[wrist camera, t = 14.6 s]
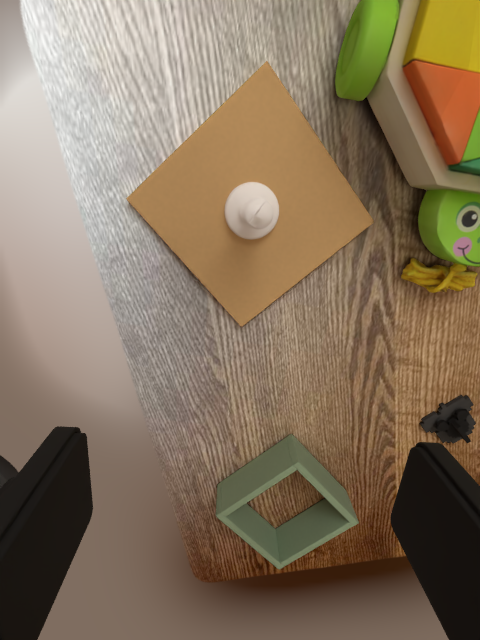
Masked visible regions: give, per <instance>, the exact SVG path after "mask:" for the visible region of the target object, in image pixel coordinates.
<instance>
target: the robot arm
mask: <svg viewBox="0 0 480 640" xmlns="http://www.w3.org/2000/svg"><path fill="white" fill-rule="evenodd" d="M87 447H88V446H87V436H86V434H85V433H81V431H80V429H79V428H78V427H55V428H54V429H53V430H52V432H51V433H50V434H49V436H48V437H47V438H46V439H45V440H44V442H43V443H42V444H41V446H40V447H39V448H38V449H37V451H36V452H35V453H34V454H33V456H32V457H31V458H30V459H29V461H28V462H27V463H26V465H25V466H24V467H23V469H22V470H21V471H20V472H19V473H18V475H17V476H16V477H13V478H11V479H10V480H8V481H7V482H6V483H5V484H4V485H3V486H2V488H1V489H0V640H37V639H38V637H39V635H40V632H41V630H42V628H43V626H44V623H45V621H46V619H47V616H48V614H49V612H50V610H51V608H52V605H53V603H54V600H55V598H56V596H57V594H58V592H59V589H60V587H61V585H62V583H63V580H64V578H65V576H66V574H67V571H68V569H69V567H70V565H71V562H72V560H73V558H74V556H75V553H76V551H77V549H78V547H79V544H80V542H81V540H82V537H83V535H84V533H85V531H86V528H87V525H88V524H89V522H90V519H91V515H92V510H93V504H92V492H91V480H90V469H89V457H88V448H87ZM391 525H392V528H393V530H394V532H395V534H396V536H397V538H398V540H399V542H400V544H401V546H402V548H403V550H404V552H405V554H406V556H407V558H408V560H409V562H410V564H411V566H412V568H413V569H414V571H415V573H416V575H417V578H418V579H419V581H420V583H421V585H422V587H423V589H424V591H425V593H426V595H427V597H428V599H429V601H430V603H431V605H432V607H433V609H434V611H435V613H436V615H437V617H438V619H439V621H440V622H441V625H442V627H443V629H444V630H445V632H446V635H447V637H448V638H449V640H480V486H479V485H478V484H477V483H476V482H475V480H474V479H473V478H472V477H471V476H470V475H469V474H468V473H467V471H466V470H465V469H464V468H463V467H462V466H461V465H460V464H459V463H458V461H457V460H456V459H455V458H454V457H453V456H452V455H451V454H450V453H449V451H448V450H447V449H446V448H445V447H444V446H443V445H442V444H440V443H427V442H419V443H417V444H416V446H415V447H413V448H411V450H410V453H409V456H408V459H407V463H406V466H405V469H404V473H403V476H402V480H401V483H400V486H399V490H398V493H397V496H396V500H395V503H394V506H393V510H392V513H391Z"/></svg>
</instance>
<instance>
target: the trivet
mask: <svg viewBox="0 0 480 640" xmlns="http://www.w3.org/2000/svg"><path fill="white" fill-rule="evenodd" d="M247 182H257V183H261V184H263V185H265V186H267V187H268V188H269V189H271V191H272V192H273V193H274V194H275V196H276V198H277V201H278V204H279V217H278V220H277V223H276V225H275V226H274V228H273V229H272V230H271V231H270V232H269V233H268V234H267V235H265V236H264V237H262V238H259V239H252V240H251V239H244V238H241V237H239V236H238V235H236V234H235V233H234V232H233V231H232V230H231V229H230V228H229V226H228V224H227V222H226V219H225V203H226V200H227V198H228V196H229V194H230V193H231V192H232V191H233V190H234V189H235V188H236V187H237V186H239V185H241V184H243V183H247ZM127 200H128V202H129V203H130V204H131V205H132V206H133V207H134V208H135V209H136V210H137V212H138V213H139V214H140V215H141V216H142V217H143V218H144V219H145V220H146V222H147V223H148V224H149V225H150V226H151V227H152V228H153V229H154V230H155V232H156V233H157V234H158V235H159V236H160V237H161V238H162V239H163V240H164V242H165V243H166V244H167V245H168V246H169V247H170V248H171V249H172V250H173V252H174V253H175V254H176V255H177V256H178V257H179V258H180V259H181V260H182V262H183V263H184V264H185V265H186V266H187V267H188V268H189V269H190V270H191V272H192V273H193V274H194V275H195V276H196V277H197V278H198V279H199V280H200V282H201V283H202V284H203V285H204V286H205V287H206V288H207V289H208V290H209V292H210V293H211V294H212V295H213V296H214V297H215V298H216V299H217V300H218V302H219V303H220V304H221V305H222V306H223V307H224V308H225V309H226V310H227V312H228V313H229V314H230V315H231V316H232V317H233V318H234V319H235V320H236V322H237V323H238V324H239V325H240V326H241V327H242V326H244V325H245V324H246V323H247V322H249V321H250V320H251V319H252V318H254V317H255V316H256V315H257V314H259V313H260V312H261V311H263V310H264V309H265V308H266V307H268V306H269V305H270V304H271V303H273V302H274V301H275V300H276V299H278V298H279V297H280V296H281V295H283V294H284V293H285V292H287V291H288V290H289V289H290V288H292V287H293V286H294V285H295V284H297V283H298V282H299V281H300V280H302V279H303V278H304V277H305V276H307V275H308V274H309V273H311V272H312V271H313V270H314V269H316V268H317V267H318V266H319V265H321V264H322V263H323V262H324V261H326V260H327V259H328V258H329V257H331V256H332V255H333V254H335V253H336V252H337V251H338V250H340V249H341V248H342V247H343V246H345V245H346V244H347V243H348V242H350V241H351V240H352V239H353V238H355V237H356V236H357V235H359V234H360V233H361V232H362V231H364V230H365V229H366V228H367V227H369V226H370V225H371V224H372V223H374V221H373V219H372V218H371V216H370V215H369V213H368V212H367V210H366V209H365V207H364V206H363V204H362V203H361V201H360V200H359V198H358V197H357V195H356V194H355V192H354V191H353V189H352V188H351V186H350V185H349V183H348V182H347V180H346V179H345V177H344V176H343V174H342V173H341V171H340V170H339V168H338V167H337V165H336V164H335V162H334V161H333V159H332V158H331V156H330V155H329V153H328V152H327V150H326V149H325V147H324V146H323V144H322V143H321V141H320V140H319V138H318V137H317V135H316V134H315V132H314V131H313V129H312V128H311V126H310V125H309V123H308V122H307V120H306V119H305V117H304V116H303V114H302V113H301V111H300V110H299V108H298V107H297V105H296V104H295V102H294V101H293V99H292V98H291V96H290V95H289V93H288V92H287V90H286V89H285V87H284V86H283V84H282V83H281V81H280V80H279V78H278V77H277V75H276V74H275V72H274V71H273V69H272V68H271V66H270V65H269V63H268V62H267V61H266V62H265V63H264V64H263V65H262V66H261V67H260V68H259V69H258V70H257V71H256V72H255V73H254V74H253V75H252V76H251V77H250V78H249V79H248V80H247V81H246V82H245V83H244V84H243V85H242V86H241V87H240V88H239V89H238V90H237V91H236V92H235V93H234V94H233V95H232V96H231V97H230V98H229V99H228V100H227V101H226V102H225V103H223V104H222V105H221V106H220V107H219V108H218V109H217V110H216V111H215V112H214V113H213V114H212V115H211V116H210V117H209V118H208V119H207V120H206V121H205V122H204V123H203V124H202V125H201V126H200V127H199V128H198V129H197V130H196V131H195V132H194V133H193V134H192V135H191V136H190V137H189V138H188V139H187V140H186V141H185V142H184V143H183V144H182V145H181V146H180V147H179V148H178V149H176V150H175V151H174V152H173V153H172V154H171V155H170V156H169V157H168V158H167V159H166V160H165V161H164V162H163V163H162V164H161V165H160V166H159V167H158V168H157V169H156V170H155V171H154V172H153V173H152V174H151V175H150V176H149V177H148V178H147V179H146V180H145V181H144V182H143V183H142V184H141V185H140V186H139V187H138V188H137V189H136V190H135V191H134V192H133V193H132V194H131V195H130V196H128V197H127Z"/></svg>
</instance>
